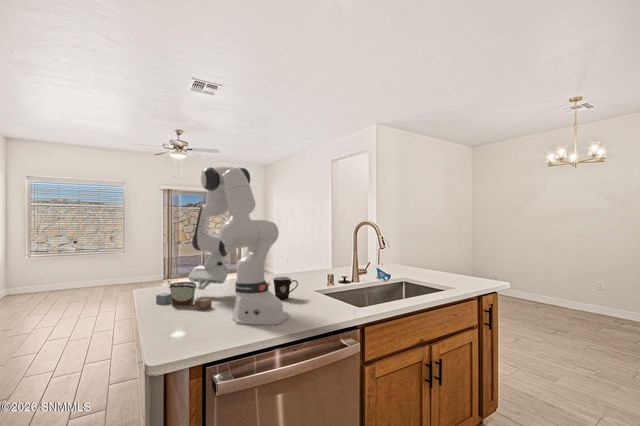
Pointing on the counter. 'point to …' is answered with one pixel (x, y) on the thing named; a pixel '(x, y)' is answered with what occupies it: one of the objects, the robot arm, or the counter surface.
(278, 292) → the coffee mug
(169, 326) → the counter surface
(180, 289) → the food container
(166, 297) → the slate block
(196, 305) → the walnut block
